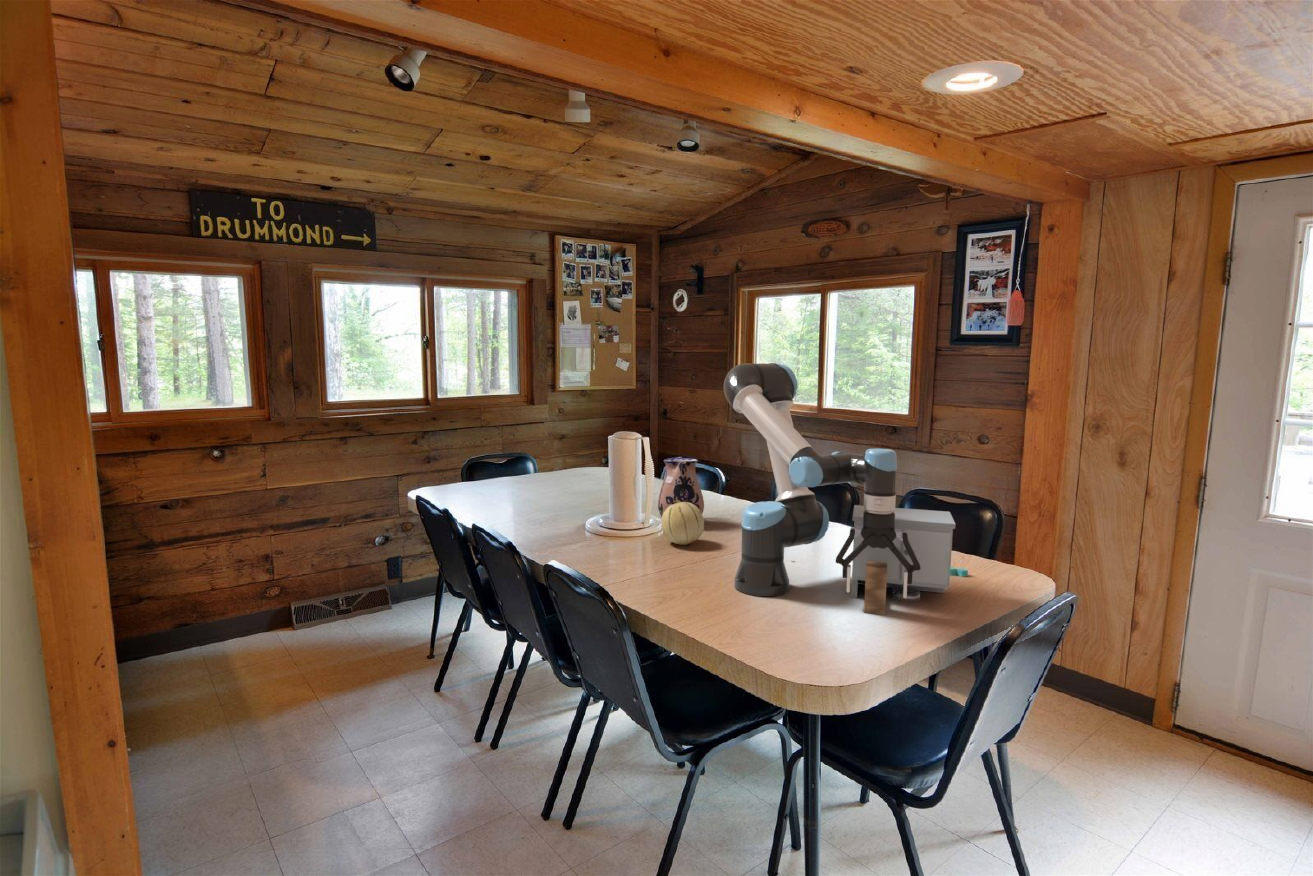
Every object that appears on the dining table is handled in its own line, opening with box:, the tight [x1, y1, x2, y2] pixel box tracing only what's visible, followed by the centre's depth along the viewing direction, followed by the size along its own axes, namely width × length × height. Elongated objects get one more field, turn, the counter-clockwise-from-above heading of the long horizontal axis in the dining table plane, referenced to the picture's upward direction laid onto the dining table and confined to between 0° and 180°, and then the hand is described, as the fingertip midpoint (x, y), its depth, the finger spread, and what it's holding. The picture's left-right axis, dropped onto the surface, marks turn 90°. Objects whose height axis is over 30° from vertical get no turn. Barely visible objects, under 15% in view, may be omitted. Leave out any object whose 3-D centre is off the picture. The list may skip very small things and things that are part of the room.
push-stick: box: [863, 561, 887, 616], centre depth 180 cm, size 5×20×12 cm, turn 162°
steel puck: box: [891, 587, 921, 603], centre depth 183 cm, size 7×7×2 cm
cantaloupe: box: [660, 500, 705, 546], centre depth 234 cm, size 15×15×15 cm
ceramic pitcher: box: [657, 456, 705, 518], centre depth 262 cm, size 18×21×25 cm
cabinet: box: [850, 504, 956, 599], centre depth 184 cm, size 25×16×22 cm, turn 72°
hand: (876, 593), depth 173 cm, fingers open, 13 cm apart
